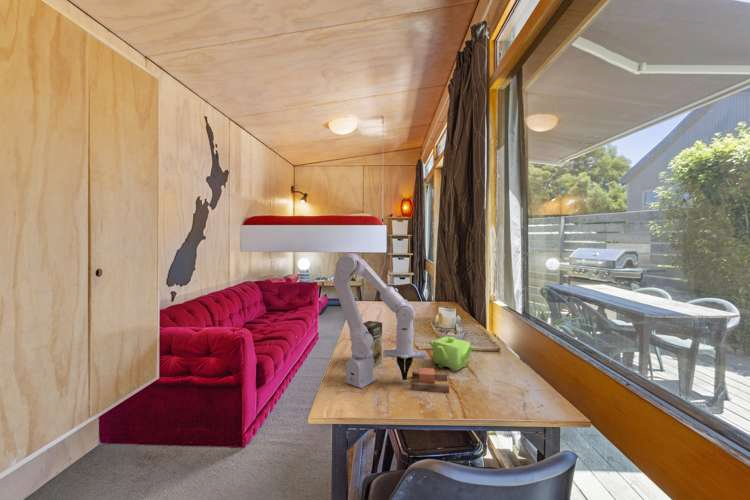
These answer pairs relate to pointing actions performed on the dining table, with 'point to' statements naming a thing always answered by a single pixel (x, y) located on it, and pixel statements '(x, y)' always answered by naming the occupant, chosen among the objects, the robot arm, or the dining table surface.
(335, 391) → the dining table surface
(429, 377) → the block
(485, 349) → the dining table surface
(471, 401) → the dining table surface
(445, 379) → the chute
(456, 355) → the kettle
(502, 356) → the dining table surface
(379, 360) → the coffee box
